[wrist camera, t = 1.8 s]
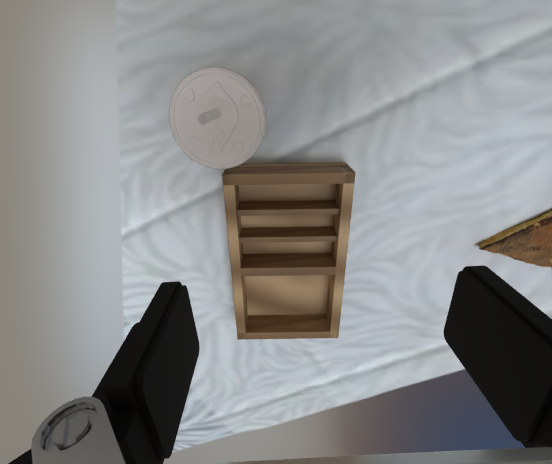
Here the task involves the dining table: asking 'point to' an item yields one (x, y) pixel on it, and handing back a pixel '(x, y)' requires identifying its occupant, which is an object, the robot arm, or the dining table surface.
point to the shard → (525, 241)
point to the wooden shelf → (288, 247)
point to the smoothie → (217, 118)
